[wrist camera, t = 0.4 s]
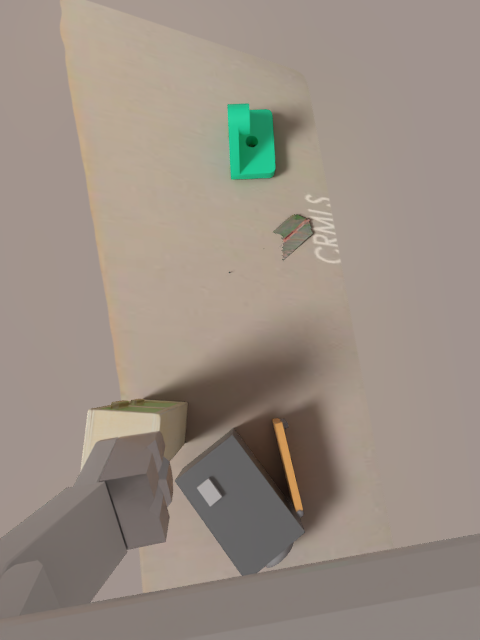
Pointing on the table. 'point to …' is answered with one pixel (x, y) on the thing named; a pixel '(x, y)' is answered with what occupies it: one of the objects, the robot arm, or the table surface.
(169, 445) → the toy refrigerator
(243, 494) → the gray box
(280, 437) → the door
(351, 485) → the table surface
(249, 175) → the camera mount
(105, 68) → the table surface
